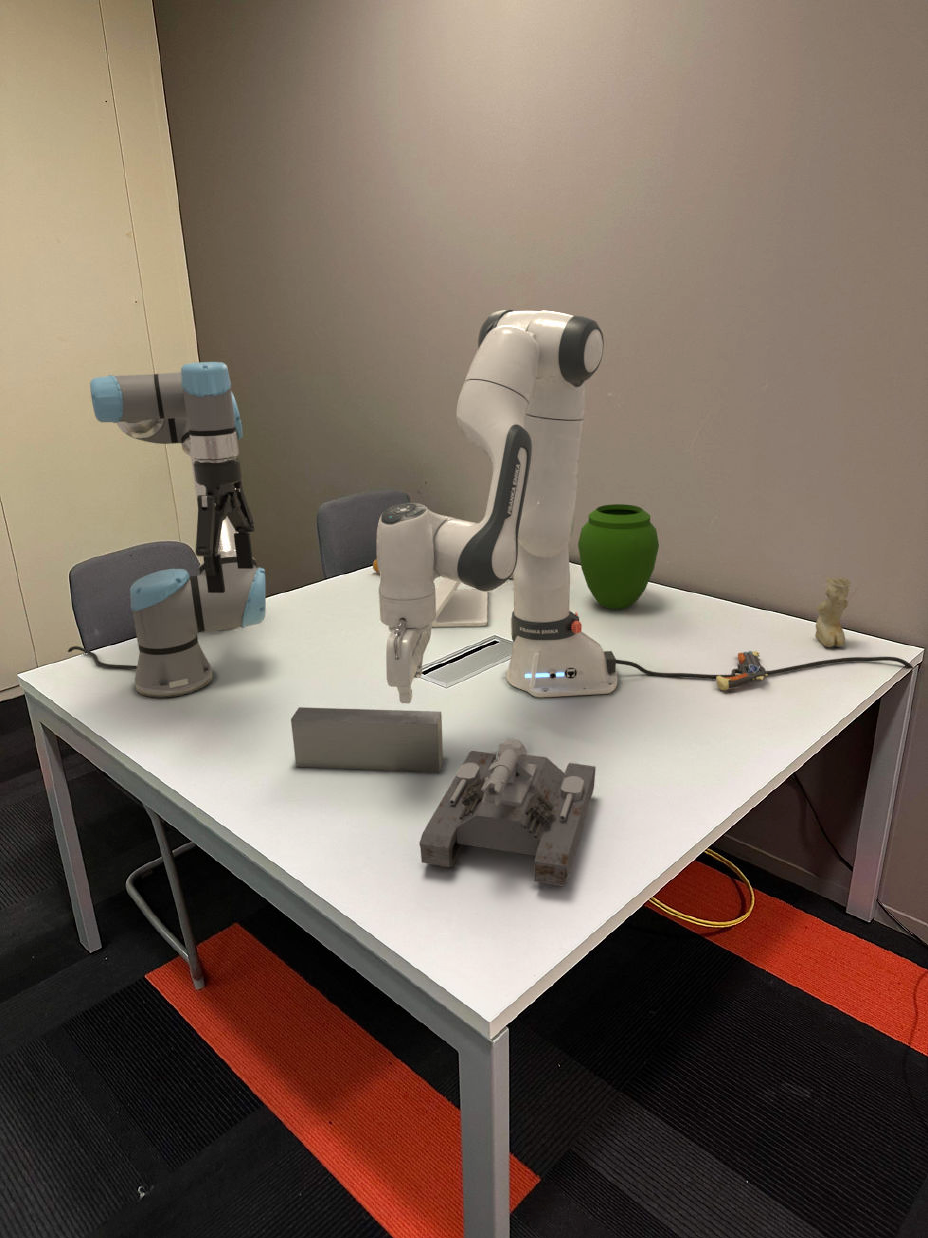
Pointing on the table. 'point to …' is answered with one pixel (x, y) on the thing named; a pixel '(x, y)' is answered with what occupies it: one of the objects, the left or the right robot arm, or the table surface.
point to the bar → (368, 739)
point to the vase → (618, 554)
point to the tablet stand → (459, 605)
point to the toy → (512, 810)
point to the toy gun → (743, 672)
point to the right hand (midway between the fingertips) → (411, 688)
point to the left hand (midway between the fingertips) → (232, 579)
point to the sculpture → (832, 613)
